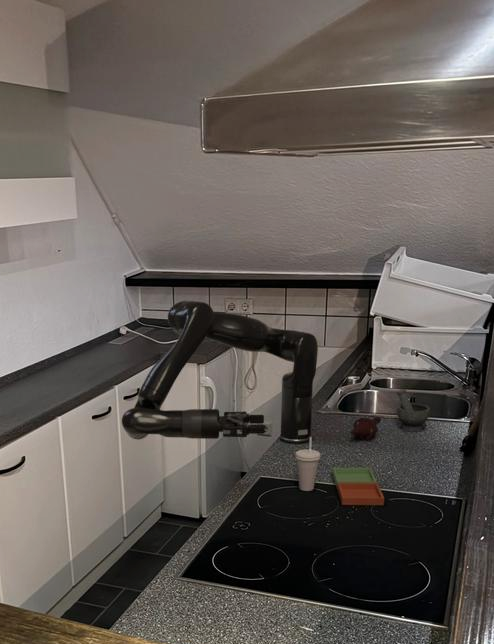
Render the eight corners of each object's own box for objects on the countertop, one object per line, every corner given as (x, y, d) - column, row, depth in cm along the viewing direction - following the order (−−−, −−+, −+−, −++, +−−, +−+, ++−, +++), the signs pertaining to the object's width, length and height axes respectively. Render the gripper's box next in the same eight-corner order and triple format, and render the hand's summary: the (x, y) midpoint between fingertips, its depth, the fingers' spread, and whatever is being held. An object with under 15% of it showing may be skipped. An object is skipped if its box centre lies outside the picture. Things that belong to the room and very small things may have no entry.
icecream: (365, 427, 225) (391, 420, 235) (344, 416, 229) (371, 410, 239) (357, 448, 228) (383, 440, 238) (337, 437, 233) (364, 429, 243)
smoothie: (318, 493, 196) (321, 441, 191) (293, 492, 197) (295, 440, 192) (319, 484, 201) (321, 433, 196) (294, 483, 203) (296, 433, 198)
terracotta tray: (336, 489, 198) (337, 482, 197) (377, 489, 197) (377, 482, 196) (341, 504, 188) (342, 497, 188) (383, 505, 188) (384, 498, 187)
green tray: (332, 474, 208) (332, 467, 207) (370, 474, 207) (370, 467, 206) (336, 488, 199) (336, 481, 198) (376, 488, 198) (377, 481, 197)
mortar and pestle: (434, 428, 242) (437, 392, 238) (416, 435, 237) (420, 397, 233) (403, 421, 251) (407, 385, 246) (386, 427, 245) (389, 391, 241)
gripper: (199, 417, 187) (265, 417, 186) (201, 402, 200) (263, 402, 199) (199, 446, 190) (265, 447, 188) (202, 429, 203) (263, 429, 202)
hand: (264, 424), depth 194 cm, fingers open, 8 cm apart
